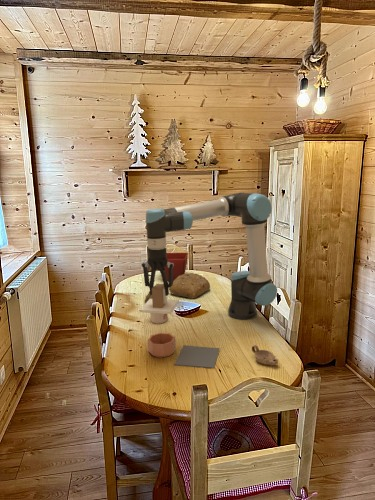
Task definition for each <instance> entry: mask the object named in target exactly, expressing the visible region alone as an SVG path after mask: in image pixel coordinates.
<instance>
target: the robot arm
mask: <svg viewBox="0 0 375 500" xmlns="http://www.w3.org/2000/svg"><path fill="white" fill-rule="evenodd" d="M272 209H273V207H272V202H271V200H270V199H269V197H267V196H266V195H264V194H261V193H255V192H236V193H232V194H228V195H224V196H219V198H217V199H214V200H207V201H201V202H196V203H192V204H191V203H190V204H185V205H180V206H175V207H170V208H152V209H148V210H146V212H145V226H146V241H147V243H146V245H147V247H148V249H147V257H148V258H147V261H144V262H142V263H141V267H142V270H143V281H144V286H145V287H148V289H149V291H150V295H152V288H153V287H154V286H155V279H156V272H157V271H159V272H160V275H161V276H160V277H161V279H162V284H164V288H163V303H164V304H166V302H167V299H168V296H169V294H170V291H169V287H171V286H172V285H173V266H174V263H170V262H168V260H167V253H168V252H167V248H166V247H167V238H166V237H167V233H170V232H177V231H186V230H189V229H191V228H192V227H193V224H194V223H193V221H198V220H204V219H208V218H213V217H217V216H218V217H219V216H221V217H231V216H233V217H239V218H241V225H242V226H244V227H245V234H246V245H247V246H246V247H247V257H248V259H247V260H248V269H249V270H241V271H239V270H238V271H236V272H235V271H234V272H232V274H231V278H230V283H231V286H230V289H231V292H230V293H231V299H230V300H231V301H230V303H229V305H228V309H227V311H228V312H227V315H228V316H230V317H231V318H233V319H236V320H251V319H253V318H255V317H257V315H258V309H257V306H256V305H259V306H264V307H266V306H269V305H271V304H272V303H273V302H274V300H275V299H276V297H277V295H278V288H277V286H276V285H275V284H274V283H272V282H273V281H272V276H271V274H269V273H268V258H267V247H266V246H267V245H266V232H265V225H266V224H267V223H268V219H269V218H270V216H271V215H270V214H271V213H272ZM166 265H168V268H169V270H168V274H169V281H168V280H167V276H166V272H165V266H166ZM149 267H150V268H151V269H150V275H149Z"/></svg>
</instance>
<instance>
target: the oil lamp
mask: <svg viewBox="0 0 375 500" xmlns="http://www.w3.org/2000/svg"><path fill="white" fill-rule="evenodd" d="M251 351H252V353H253V354H254V359H255V360H256V362H258V363H259V364H261V365H267V366H277V364H278V363H279V359H278V358H276V355H274V353H273V352H271V351H269V350H266V349H260V348H259V346H258V345H257V344H254V345H252V346H251Z"/></svg>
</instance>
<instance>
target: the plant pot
mask: <svg viewBox="0 0 375 500" xmlns="http://www.w3.org/2000/svg"><path fill="white" fill-rule="evenodd" d="M188 256H189V253H188V252H167V260H168V262H170V263H174V266H173V281H174V280H175V279H176V278H177V277H178V276H181V275H183V274H186V271H187V270H186V269H187V265H188ZM168 270H169V268H168V265H166V266H165V272H166V276H167V280H168V282H169V274H168Z"/></svg>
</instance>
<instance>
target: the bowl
mask: <svg viewBox="0 0 375 500" xmlns="http://www.w3.org/2000/svg"><path fill="white" fill-rule="evenodd" d="M176 344H177V343H176V336H174V335H173V334H172V333H170V332H168V333H167V332H157V333H155V334H151V335H150V336H149V338H147V351H148V352H149V353H150V355H151V356H153V357H155V358H166V357H170V356H171V355H173V354H174V352H175V350H176V348H177V347H176V346H177V345H176Z"/></svg>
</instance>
